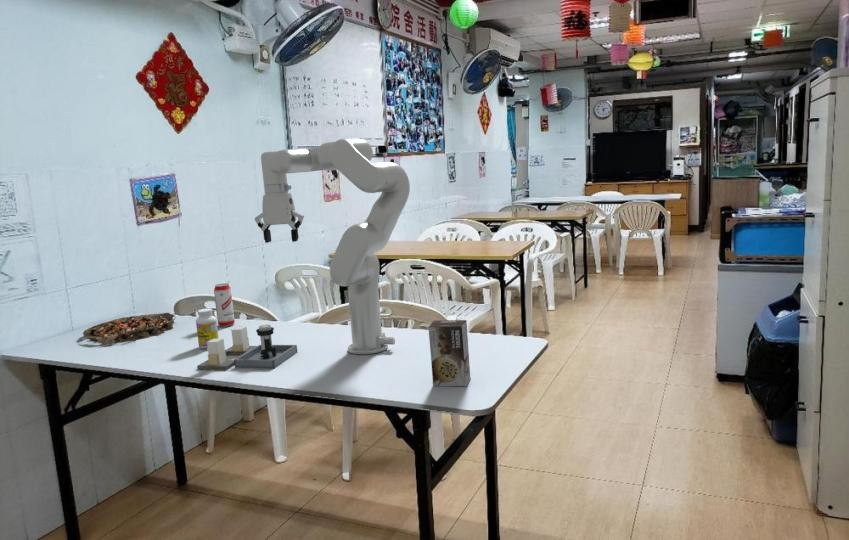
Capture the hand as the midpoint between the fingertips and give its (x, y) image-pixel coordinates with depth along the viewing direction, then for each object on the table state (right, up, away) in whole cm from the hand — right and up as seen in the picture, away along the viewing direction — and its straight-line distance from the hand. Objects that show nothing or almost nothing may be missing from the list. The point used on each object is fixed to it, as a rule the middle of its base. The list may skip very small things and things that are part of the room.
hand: (281, 241), depth 216 cm
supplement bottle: (-26, -36, +7) cm, 45 cm away
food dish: (-65, -34, +36) cm, 82 cm away
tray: (-2, -37, -14) cm, 40 cm away
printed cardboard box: (+54, -39, -45) cm, 81 cm away
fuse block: (-14, -38, -10) cm, 41 cm away
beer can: (-29, -31, +36) cm, 56 cm away
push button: (-2, -37, -13) cm, 39 cm away
